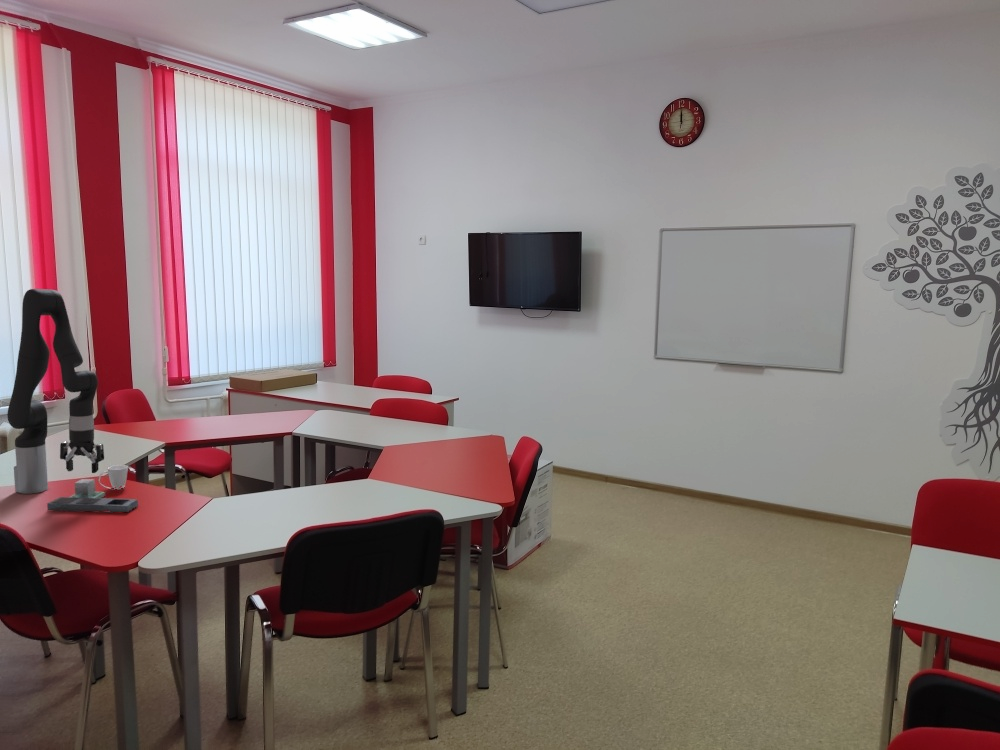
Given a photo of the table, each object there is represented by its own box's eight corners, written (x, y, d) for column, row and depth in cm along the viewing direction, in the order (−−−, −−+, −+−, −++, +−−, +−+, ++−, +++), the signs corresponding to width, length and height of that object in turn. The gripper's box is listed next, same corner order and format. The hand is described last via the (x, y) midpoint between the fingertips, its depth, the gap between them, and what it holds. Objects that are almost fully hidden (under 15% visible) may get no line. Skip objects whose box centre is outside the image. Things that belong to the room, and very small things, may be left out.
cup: (131, 488, 262) (130, 467, 261) (101, 493, 256) (100, 472, 255) (126, 483, 268) (125, 463, 266) (97, 488, 261) (96, 467, 260)
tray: (65, 503, 244) (65, 499, 243) (80, 495, 253) (80, 491, 252) (91, 504, 244) (91, 499, 244) (105, 496, 253) (105, 491, 253)
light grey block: (75, 500, 246) (74, 482, 245) (82, 496, 250) (81, 479, 249) (88, 500, 246) (87, 483, 245) (95, 496, 250) (94, 479, 250)
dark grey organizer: (47, 510, 236) (47, 503, 236) (60, 503, 243) (59, 496, 243) (127, 512, 237) (127, 505, 236) (137, 506, 244) (137, 499, 243)
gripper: (54, 428, 240) (55, 473, 243) (95, 431, 240) (96, 476, 243) (67, 423, 248) (68, 467, 250) (107, 426, 248) (108, 470, 250)
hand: (82, 471), depth 247 cm, fingers open, 8 cm apart
